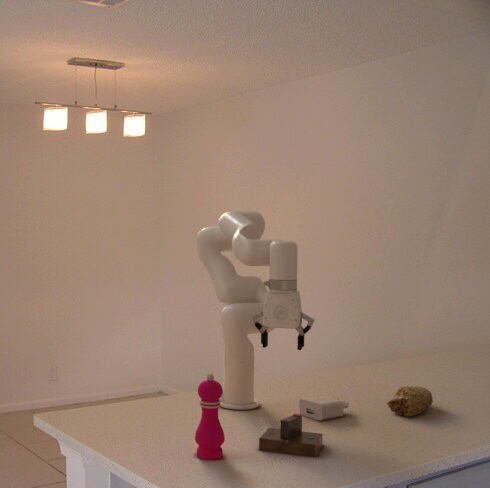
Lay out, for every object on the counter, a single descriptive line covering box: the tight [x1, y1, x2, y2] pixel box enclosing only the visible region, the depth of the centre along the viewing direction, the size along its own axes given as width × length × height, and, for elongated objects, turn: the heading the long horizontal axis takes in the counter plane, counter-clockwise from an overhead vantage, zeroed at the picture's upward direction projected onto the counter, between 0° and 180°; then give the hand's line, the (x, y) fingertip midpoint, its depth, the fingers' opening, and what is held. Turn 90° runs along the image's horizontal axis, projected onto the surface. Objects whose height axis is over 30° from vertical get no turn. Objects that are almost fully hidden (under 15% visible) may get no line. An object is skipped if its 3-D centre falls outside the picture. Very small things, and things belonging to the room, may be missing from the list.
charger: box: [298, 395, 350, 421], centre depth 215 cm, size 5×9×15 cm
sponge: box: [386, 386, 434, 417], centre depth 220 cm, size 13×8×20 cm
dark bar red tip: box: [280, 413, 303, 439], centre depth 182 cm, size 7×2×5 cm, turn 140°
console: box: [258, 427, 324, 458], centre depth 182 cm, size 14×11×3 cm
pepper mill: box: [194, 373, 226, 461], centre depth 176 cm, size 7×7×20 cm
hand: (282, 348), depth 199 cm, fingers open, 9 cm apart
